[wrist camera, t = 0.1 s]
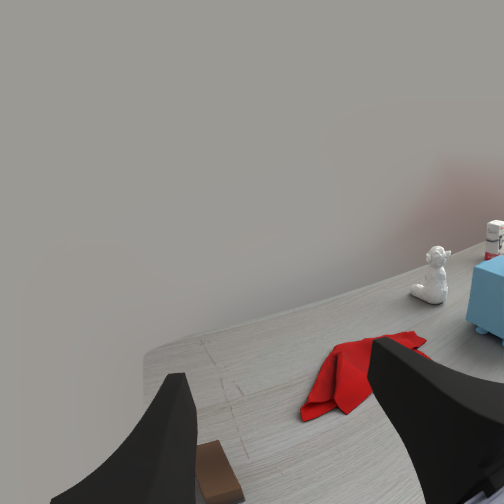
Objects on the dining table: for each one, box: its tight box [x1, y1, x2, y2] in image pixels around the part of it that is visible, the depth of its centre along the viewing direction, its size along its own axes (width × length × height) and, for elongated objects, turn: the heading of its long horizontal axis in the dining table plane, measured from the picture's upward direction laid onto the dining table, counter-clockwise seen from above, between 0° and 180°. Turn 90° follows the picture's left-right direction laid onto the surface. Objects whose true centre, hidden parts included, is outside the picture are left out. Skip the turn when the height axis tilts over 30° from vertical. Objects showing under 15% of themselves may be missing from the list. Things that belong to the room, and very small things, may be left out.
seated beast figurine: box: [410, 246, 451, 304], centre depth 55 cm, size 10×9×12 cm
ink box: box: [485, 220, 504, 261], centre depth 70 cm, size 8×5×12 cm, turn 111°
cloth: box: [300, 331, 432, 421], centre depth 40 cm, size 26×14×2 cm, turn 110°
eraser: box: [195, 440, 245, 504], centre depth 23 cm, size 7×4×3 cm, turn 22°
